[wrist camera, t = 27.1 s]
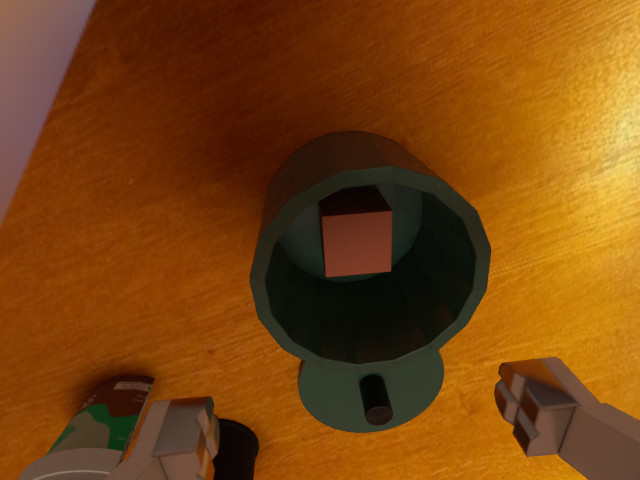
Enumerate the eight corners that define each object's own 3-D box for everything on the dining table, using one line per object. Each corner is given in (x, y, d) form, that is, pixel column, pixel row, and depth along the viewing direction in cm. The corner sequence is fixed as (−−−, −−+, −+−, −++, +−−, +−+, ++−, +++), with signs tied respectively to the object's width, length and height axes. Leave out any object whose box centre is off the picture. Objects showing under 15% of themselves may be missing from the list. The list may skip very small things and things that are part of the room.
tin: (249, 268, 29) (230, 353, 21) (288, 108, 24) (284, 134, 16) (394, 299, 32) (431, 387, 23) (458, 159, 27) (535, 205, 18)
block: (321, 247, 28) (325, 277, 25) (317, 193, 27) (321, 216, 23) (377, 242, 29) (391, 272, 25) (378, 188, 27) (392, 210, 23)
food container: (87, 347, 32) (6, 460, 23) (159, 367, 33) (109, 480, 24) (63, 436, 36) (-12, 559, 28) (127, 450, 38) (75, 572, 29)
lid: (283, 412, 37) (281, 457, 33) (321, 303, 31) (325, 341, 27) (407, 430, 39) (421, 474, 35) (463, 332, 34) (487, 371, 30)
